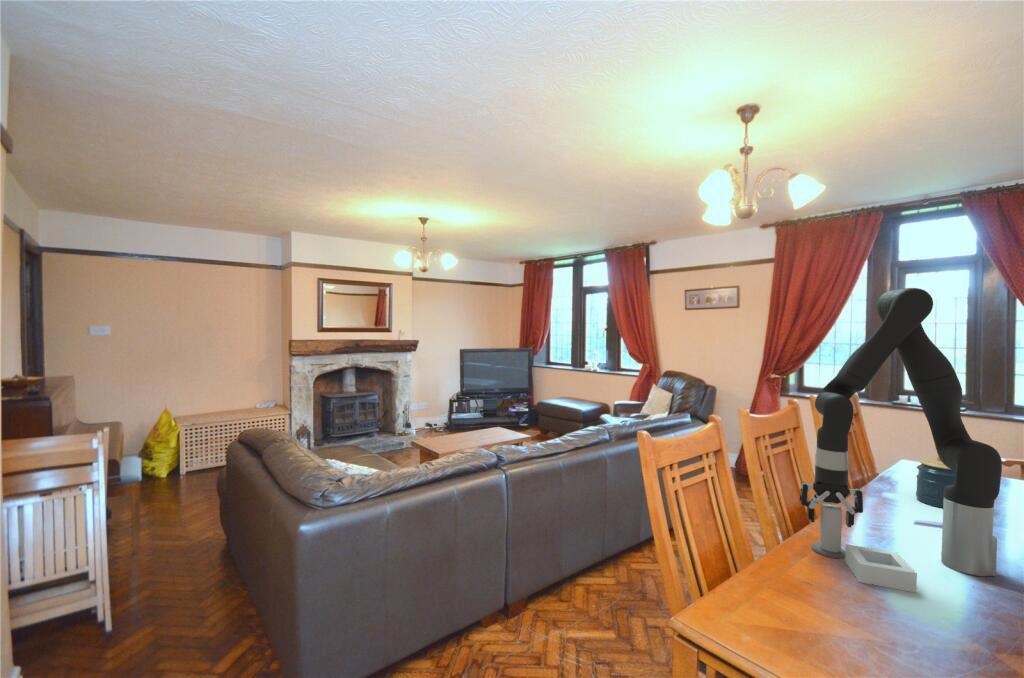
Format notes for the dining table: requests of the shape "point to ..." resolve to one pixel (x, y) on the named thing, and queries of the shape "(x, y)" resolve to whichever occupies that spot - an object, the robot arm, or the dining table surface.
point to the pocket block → (880, 568)
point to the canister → (933, 481)
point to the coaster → (820, 551)
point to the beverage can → (830, 528)
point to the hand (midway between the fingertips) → (829, 523)
